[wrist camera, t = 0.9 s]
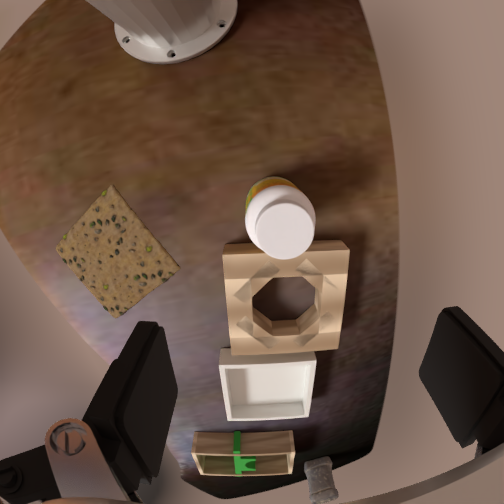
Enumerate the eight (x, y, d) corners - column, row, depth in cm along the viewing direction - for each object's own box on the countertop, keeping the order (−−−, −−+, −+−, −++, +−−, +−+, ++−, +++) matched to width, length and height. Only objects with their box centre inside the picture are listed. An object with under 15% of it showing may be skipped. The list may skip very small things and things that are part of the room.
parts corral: (194, 431, 41) (191, 452, 37) (292, 430, 41) (295, 451, 37) (202, 455, 45) (200, 474, 40) (289, 454, 45) (291, 473, 40)
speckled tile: (184, 266, 31) (182, 270, 30) (117, 318, 34) (114, 322, 33) (114, 181, 28) (110, 182, 27) (56, 247, 30) (51, 249, 29)
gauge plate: (225, 244, 30) (222, 254, 27) (340, 239, 30) (349, 249, 27) (232, 339, 34) (231, 355, 31) (331, 333, 34) (337, 348, 31)
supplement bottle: (240, 181, 28) (236, 200, 19) (296, 171, 27) (319, 185, 18) (251, 234, 30) (252, 275, 20) (304, 224, 29) (328, 261, 20)
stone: (302, 461, 46) (306, 502, 37) (330, 454, 45) (337, 495, 36) (306, 467, 47) (310, 506, 38) (333, 460, 46) (340, 500, 37)
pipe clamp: (254, 458, 45) (255, 476, 41) (236, 458, 45) (235, 476, 41) (255, 430, 41) (256, 451, 37) (233, 430, 41) (233, 451, 37)
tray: (220, 348, 35) (218, 365, 32) (311, 344, 35) (316, 360, 32) (228, 404, 39) (227, 420, 36) (305, 401, 39) (308, 416, 36)
